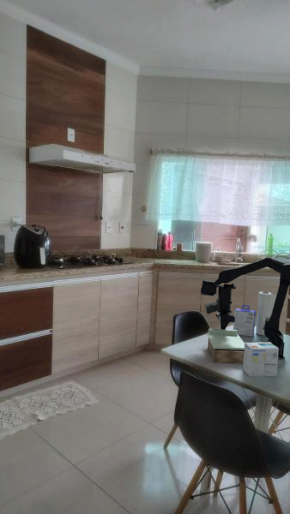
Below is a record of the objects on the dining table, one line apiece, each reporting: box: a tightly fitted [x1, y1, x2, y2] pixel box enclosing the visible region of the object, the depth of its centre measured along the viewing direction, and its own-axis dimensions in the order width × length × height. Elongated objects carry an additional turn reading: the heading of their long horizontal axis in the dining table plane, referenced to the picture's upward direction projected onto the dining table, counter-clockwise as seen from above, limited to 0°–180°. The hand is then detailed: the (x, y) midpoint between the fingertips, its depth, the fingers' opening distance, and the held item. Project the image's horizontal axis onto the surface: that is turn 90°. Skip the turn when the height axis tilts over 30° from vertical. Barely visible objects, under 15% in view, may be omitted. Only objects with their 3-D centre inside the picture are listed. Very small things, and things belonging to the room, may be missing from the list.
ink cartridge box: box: [232, 304, 257, 338], centre depth 172 cm, size 10×6×14 cm, turn 64°
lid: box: [206, 328, 246, 350], centre depth 144 cm, size 14×17×3 cm
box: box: [207, 337, 244, 365], centre depth 142 cm, size 13×16×5 cm
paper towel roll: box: [255, 291, 277, 337], centre depth 172 cm, size 7×6×21 cm
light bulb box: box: [242, 341, 279, 378], centre depth 127 cm, size 11×7×11 cm, turn 98°
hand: (222, 331), depth 153 cm, fingers closed
